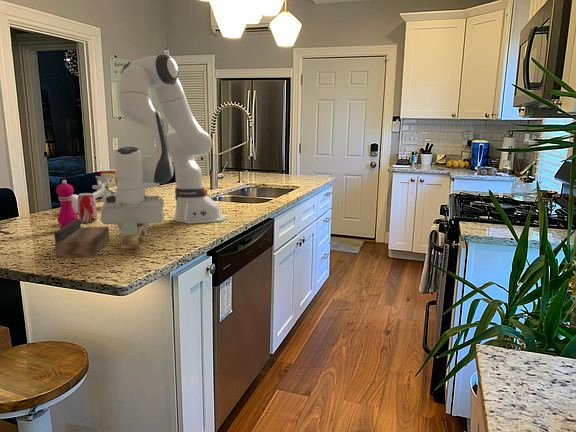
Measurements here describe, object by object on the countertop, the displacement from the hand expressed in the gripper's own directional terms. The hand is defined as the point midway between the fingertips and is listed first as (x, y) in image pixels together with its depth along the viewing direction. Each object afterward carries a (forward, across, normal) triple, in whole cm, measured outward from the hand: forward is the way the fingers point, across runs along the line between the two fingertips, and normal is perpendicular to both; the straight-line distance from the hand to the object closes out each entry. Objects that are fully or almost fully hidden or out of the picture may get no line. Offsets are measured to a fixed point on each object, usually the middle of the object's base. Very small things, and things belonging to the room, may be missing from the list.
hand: (134, 235), depth 150 cm
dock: (+4, +16, 0) cm, 17 cm away
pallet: (+2, 0, 0) cm, 2 cm away
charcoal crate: (-2, 0, -6) cm, 7 cm away
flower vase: (+4, +31, -66) cm, 73 cm away
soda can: (+4, +27, -42) cm, 50 cm away
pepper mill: (+4, +30, -27) cm, 41 cm away
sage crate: (-2, 0, +6) cm, 7 cm away
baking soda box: (+5, +31, -100) cm, 105 cm away
